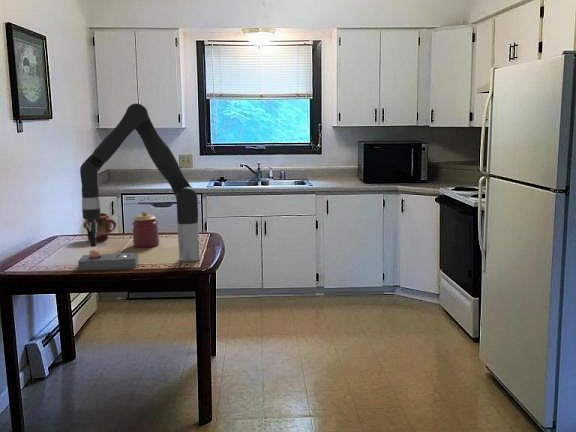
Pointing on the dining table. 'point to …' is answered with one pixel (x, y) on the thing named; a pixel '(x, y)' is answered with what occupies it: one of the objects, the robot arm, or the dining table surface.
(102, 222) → the brown ceramic mug
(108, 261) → the button panel
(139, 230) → the canister
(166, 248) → the dining table surface
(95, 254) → the terracotta button
